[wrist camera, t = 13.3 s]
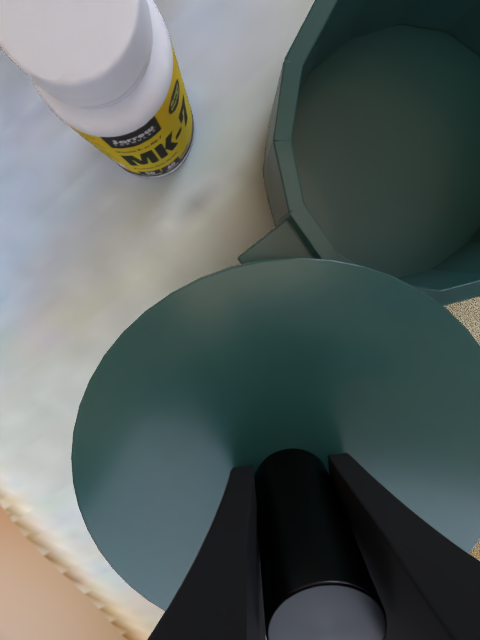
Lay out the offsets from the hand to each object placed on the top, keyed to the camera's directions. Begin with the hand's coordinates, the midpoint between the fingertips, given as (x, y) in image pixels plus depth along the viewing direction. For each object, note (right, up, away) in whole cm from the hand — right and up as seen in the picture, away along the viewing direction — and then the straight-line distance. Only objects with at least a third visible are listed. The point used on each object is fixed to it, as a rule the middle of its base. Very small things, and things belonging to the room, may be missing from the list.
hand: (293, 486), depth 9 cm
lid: (0, 0, +1) cm, 1 cm away
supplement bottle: (-6, +15, +6) cm, 18 cm away
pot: (+6, +14, +7) cm, 16 cm away
